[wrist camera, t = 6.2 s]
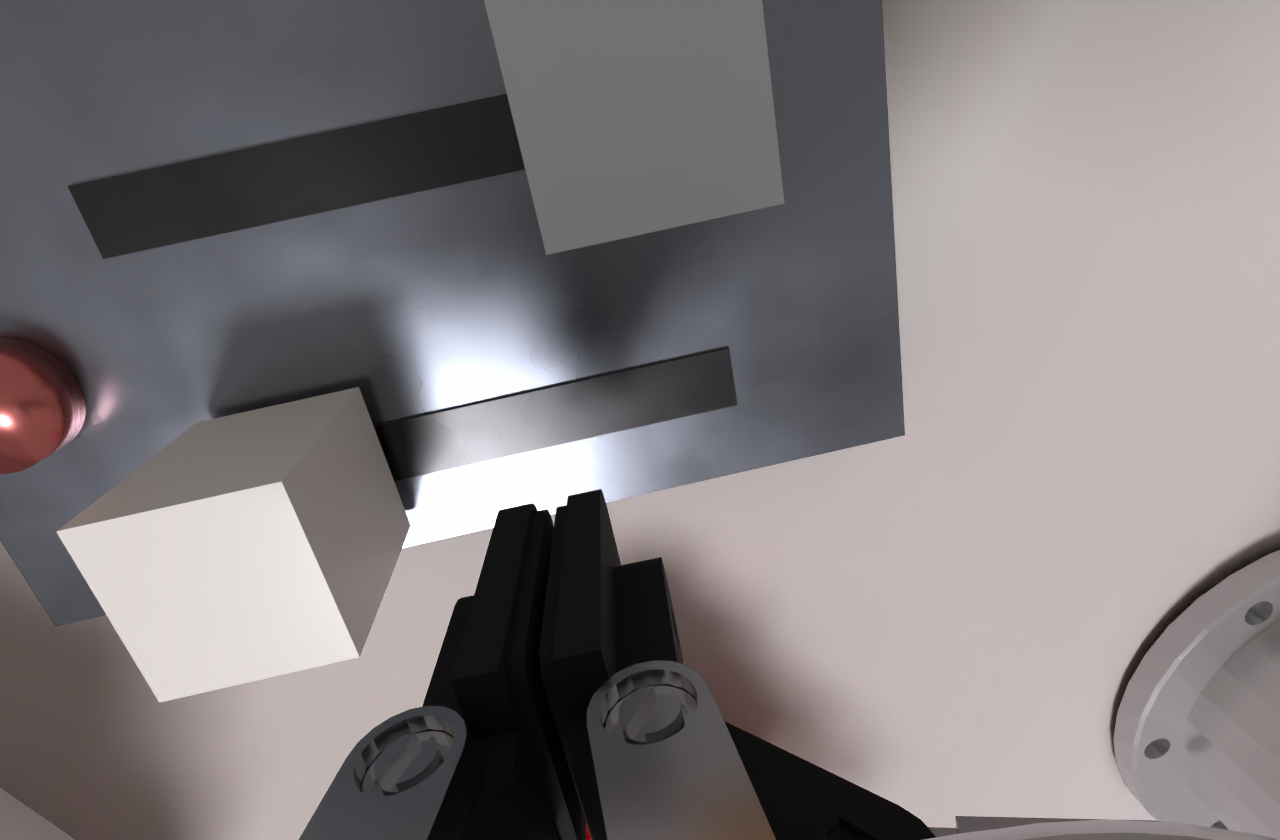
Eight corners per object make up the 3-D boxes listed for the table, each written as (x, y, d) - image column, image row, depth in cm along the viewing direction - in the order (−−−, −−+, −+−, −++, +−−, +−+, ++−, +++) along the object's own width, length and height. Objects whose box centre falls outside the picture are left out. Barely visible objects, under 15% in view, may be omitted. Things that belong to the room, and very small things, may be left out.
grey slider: (691, -12, 13) (752, -84, 9) (719, 184, 14) (784, 203, 10) (504, 27, 13) (477, -27, 9) (550, 221, 14) (546, 255, 10)
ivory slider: (358, 386, 15) (281, 481, 11) (410, 525, 16) (360, 657, 12) (196, 422, 15) (56, 531, 11) (262, 559, 16) (159, 702, 12)
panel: (819, -477, 12) (879, -621, 10) (879, 413, 19) (924, 451, 16) (-406, -241, 12) (-645, -336, 9) (94, 589, 18) (26, 654, 16)
